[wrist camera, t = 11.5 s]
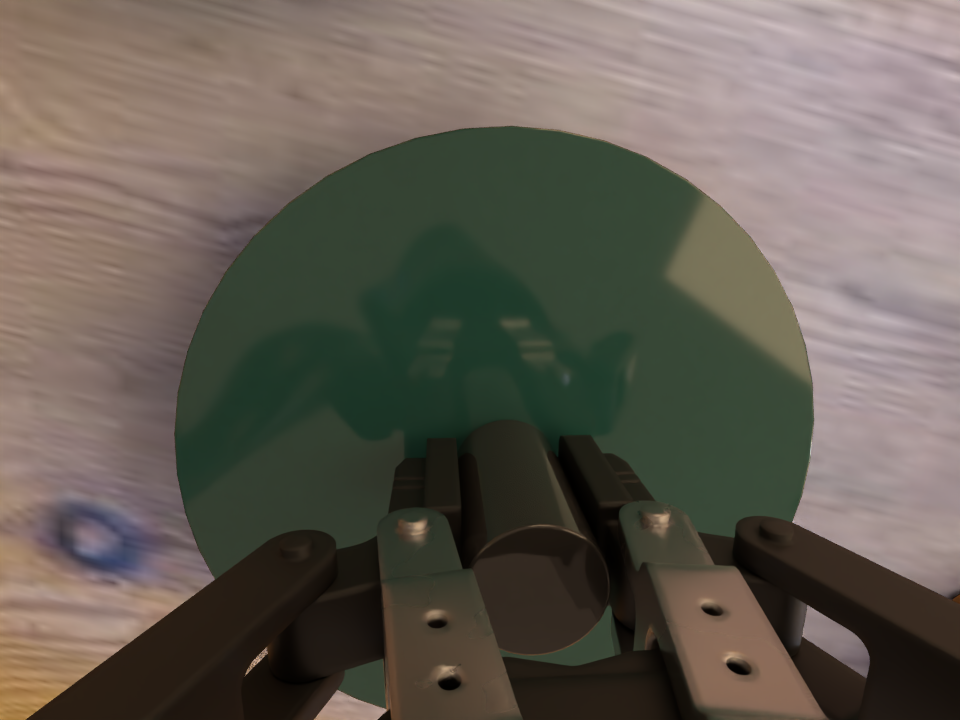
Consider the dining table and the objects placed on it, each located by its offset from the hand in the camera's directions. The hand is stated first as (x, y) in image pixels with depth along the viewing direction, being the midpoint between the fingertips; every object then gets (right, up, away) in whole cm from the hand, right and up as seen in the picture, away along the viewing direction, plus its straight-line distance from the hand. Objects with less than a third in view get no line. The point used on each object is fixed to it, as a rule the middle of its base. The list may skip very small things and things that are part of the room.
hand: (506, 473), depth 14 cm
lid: (0, 0, +1) cm, 1 cm away
